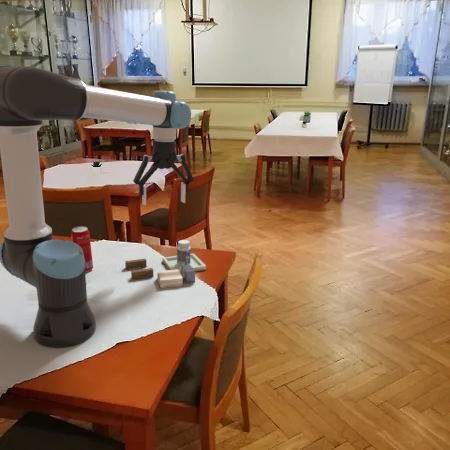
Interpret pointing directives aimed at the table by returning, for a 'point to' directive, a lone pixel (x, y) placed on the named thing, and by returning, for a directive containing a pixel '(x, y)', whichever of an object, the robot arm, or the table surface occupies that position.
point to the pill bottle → (183, 253)
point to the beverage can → (83, 244)
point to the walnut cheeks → (138, 273)
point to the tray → (172, 265)
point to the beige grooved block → (169, 278)
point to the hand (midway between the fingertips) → (163, 203)
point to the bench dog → (188, 273)
